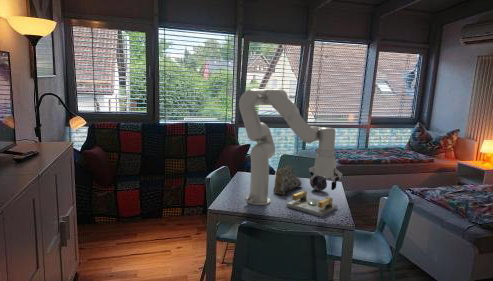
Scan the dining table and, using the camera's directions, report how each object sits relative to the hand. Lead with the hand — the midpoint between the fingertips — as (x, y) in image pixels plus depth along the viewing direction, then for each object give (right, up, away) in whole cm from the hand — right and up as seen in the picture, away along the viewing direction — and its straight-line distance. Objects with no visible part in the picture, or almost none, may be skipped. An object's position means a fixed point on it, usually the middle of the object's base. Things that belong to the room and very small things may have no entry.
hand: (324, 187), depth 164 cm
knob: (+2, -11, +5) cm, 12 cm away
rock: (-13, -7, +39) cm, 42 cm away
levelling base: (-4, -12, +9) cm, 16 cm away
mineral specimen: (+6, -8, +41) cm, 42 cm away
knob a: (-10, -9, +14) cm, 19 cm away
